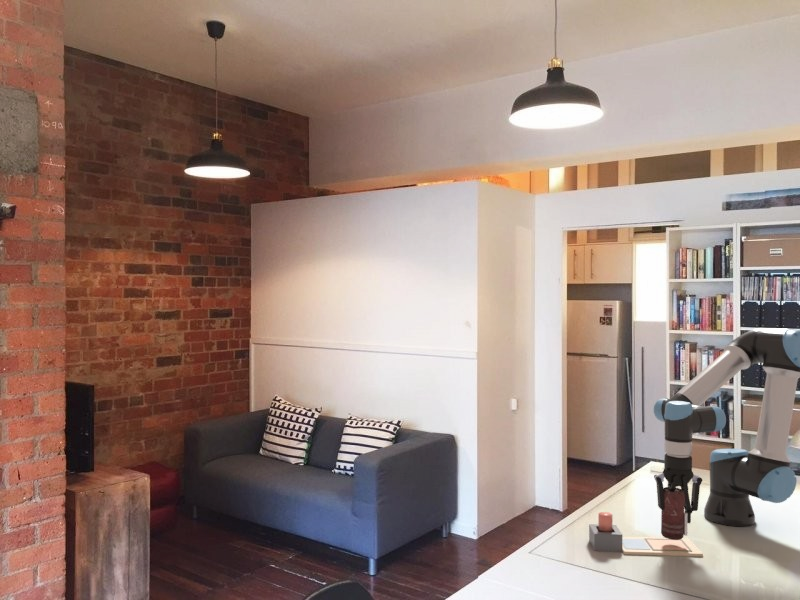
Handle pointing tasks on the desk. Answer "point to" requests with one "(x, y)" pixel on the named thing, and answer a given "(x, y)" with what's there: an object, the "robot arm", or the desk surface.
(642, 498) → the desk surface
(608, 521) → the button
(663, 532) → the can
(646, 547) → the board
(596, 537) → the button housing
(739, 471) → the robot arm
